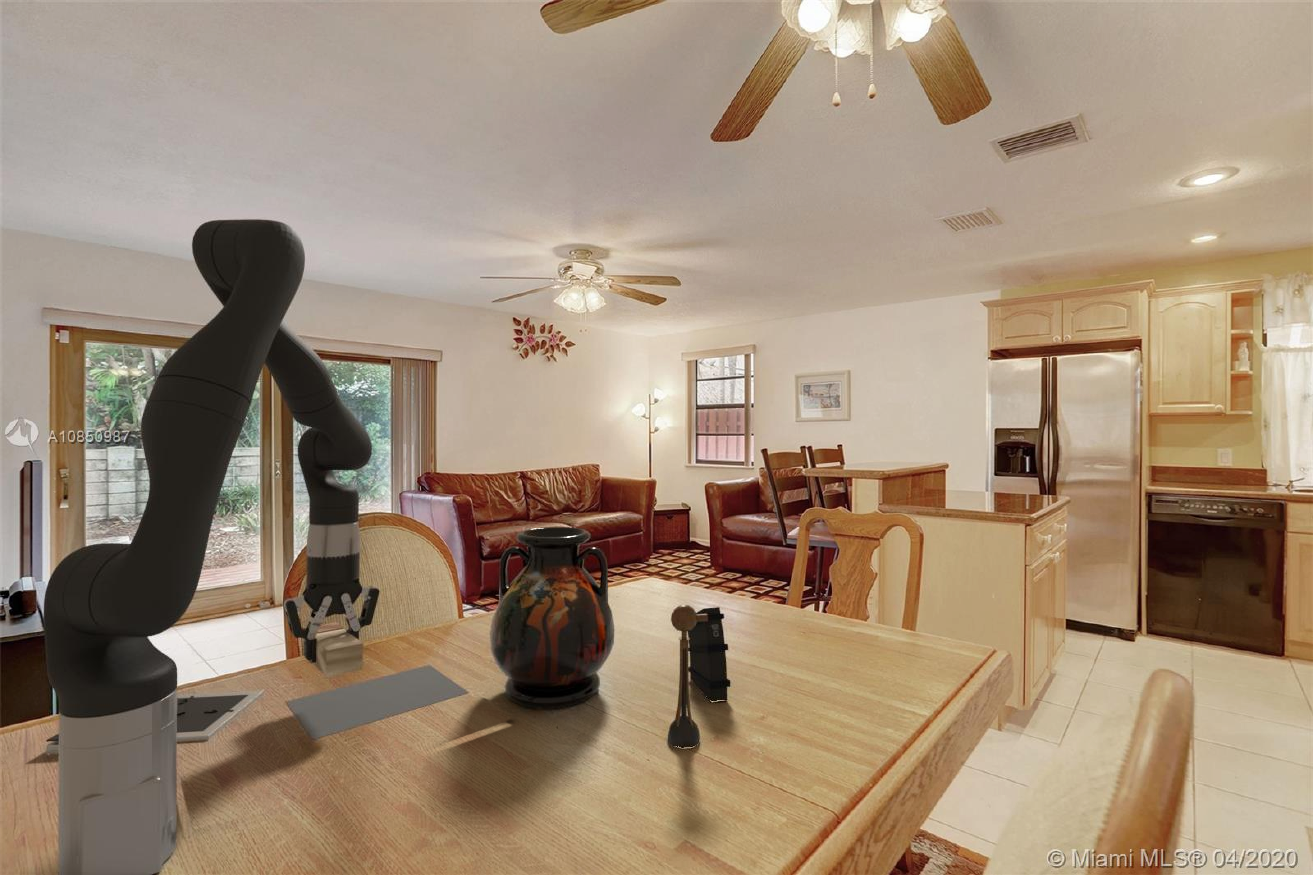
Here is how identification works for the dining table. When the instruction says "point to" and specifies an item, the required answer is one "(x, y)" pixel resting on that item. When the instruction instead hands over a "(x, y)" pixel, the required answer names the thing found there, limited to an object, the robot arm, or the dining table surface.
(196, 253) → the robot arm
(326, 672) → the beige wooden block
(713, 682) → the black banded case
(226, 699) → the picture frame
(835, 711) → the dining table surface
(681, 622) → the wooden tabletop sculpture
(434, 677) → the rubber mat
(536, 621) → the amphora vase
